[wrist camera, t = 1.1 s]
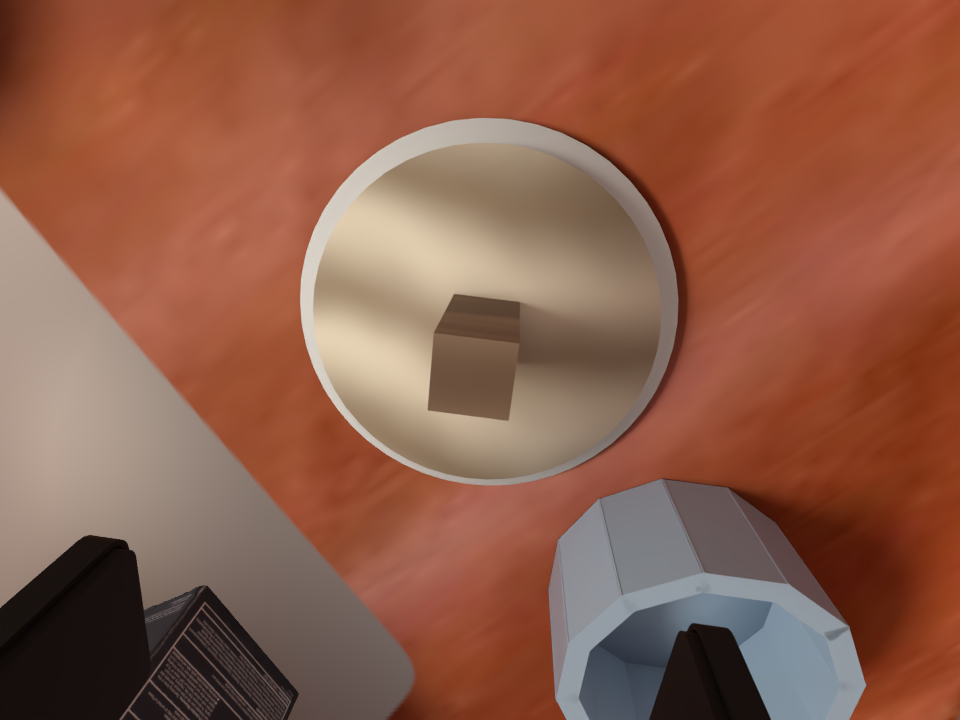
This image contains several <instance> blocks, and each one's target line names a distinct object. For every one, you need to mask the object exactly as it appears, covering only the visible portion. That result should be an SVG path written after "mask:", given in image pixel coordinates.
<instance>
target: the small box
mask: <svg viewBox="0 0 960 720" xmlns="http://www.w3.org/2000/svg"><path fill="white" fill-rule="evenodd" d="M144 616H145V623H146V630H147V638H148V645H149V652H150V659H151V667H150V671H149V674H148V677H147V679H146V681H145V683H144V685H143V686H142V688H141V689H140V691H139V692H138V693H137V695H136V696H135V698H134V699H133V700H132V702H131V703H130V705H129V706H128V707H127V709H126V710H125V712H124V713H123V714H122V716H121V717H120V719H119V720H287V719H288V716H289V714H290V712H291V710H292V707H293V705H294V703H295V701H296V699H297V697H298V692H297V691H296V689H295V688H294V687H293V686H292V685H291V684H290V683H289V681H288V680H287V679H286V678H285V676H284V675H283V674H282V673H281V672H280V671H279V669H278V668H277V667H276V666H275V665H274V664H273V662H272V661H271V660H270V659H269V658H268V656H267V655H266V654H265V653H264V652H263V651H262V650H261V648H260V647H259V646H258V645H257V643H256V642H255V641H254V640H253V639H252V638H251V637H250V636H249V634H248V633H247V632H246V631H245V630H244V628H243V627H242V626H241V625H240V624H239V622H238V621H237V620H236V619H235V618H234V617H233V616H232V614H231V613H230V612H229V610H228V609H227V608H226V607H225V606H224V605H223V604H222V603H221V601H220V600H219V599H218V598H217V596H216V595H215V594H214V593H213V592H212V591H211V589H210V588H209V587H208V586H199V587H196V588H194V589H193V590H192V591H190V592H186V593H184V594H183V595H180V596H178V597H175V598H174V599H171V600H168V601H165V602H163V603H161V604H159V605H155V606H152V607H150V608H148V609H146V610H144Z"/></svg>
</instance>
